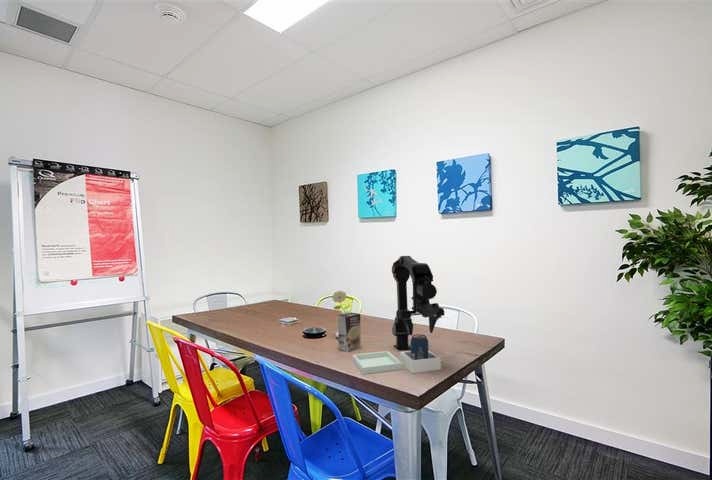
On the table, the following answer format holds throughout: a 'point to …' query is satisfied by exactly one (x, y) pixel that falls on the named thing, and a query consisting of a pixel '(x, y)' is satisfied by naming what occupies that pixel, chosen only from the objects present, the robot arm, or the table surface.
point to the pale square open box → (420, 362)
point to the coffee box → (349, 332)
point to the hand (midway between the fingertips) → (420, 333)
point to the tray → (376, 362)
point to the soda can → (419, 347)
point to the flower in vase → (339, 298)
